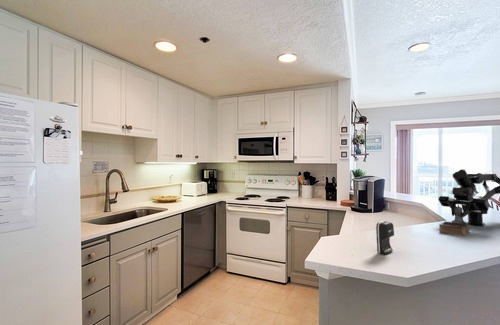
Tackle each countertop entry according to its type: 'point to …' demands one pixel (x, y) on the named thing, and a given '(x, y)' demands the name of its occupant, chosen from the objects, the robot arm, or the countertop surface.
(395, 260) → the countertop surface
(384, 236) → the coffee maker
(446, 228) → the holder
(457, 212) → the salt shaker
